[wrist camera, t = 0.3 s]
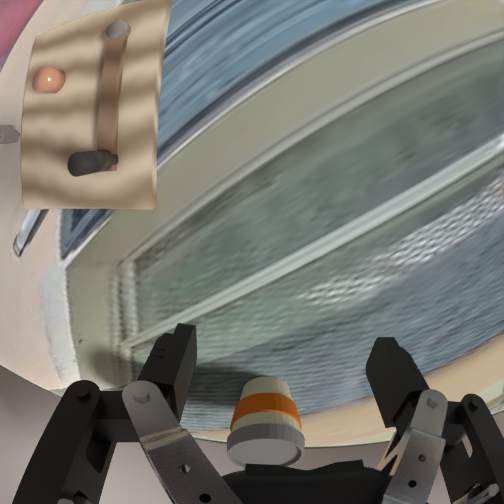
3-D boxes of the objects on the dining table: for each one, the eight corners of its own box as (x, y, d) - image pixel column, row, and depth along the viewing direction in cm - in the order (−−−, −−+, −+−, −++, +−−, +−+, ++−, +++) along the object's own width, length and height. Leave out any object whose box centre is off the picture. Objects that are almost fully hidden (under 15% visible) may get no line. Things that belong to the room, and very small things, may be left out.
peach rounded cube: (49, 73, 29) (34, 69, 25) (67, 67, 29) (52, 62, 25) (46, 95, 30) (30, 93, 26) (64, 90, 30) (48, 87, 26)
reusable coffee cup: (303, 369, 47) (313, 436, 33) (293, 411, 52) (299, 470, 38) (232, 367, 48) (224, 435, 34) (233, 409, 52) (226, 469, 38)
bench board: (41, 38, 27) (35, 36, 26) (172, 1, 27) (168, -5, 25) (31, 206, 38) (24, 209, 37) (156, 206, 38) (151, 209, 36)
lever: (114, 26, 26) (86, 7, 19) (132, 22, 26) (106, 1, 19) (100, 171, 34) (67, 178, 26) (119, 170, 34) (86, 177, 26)
